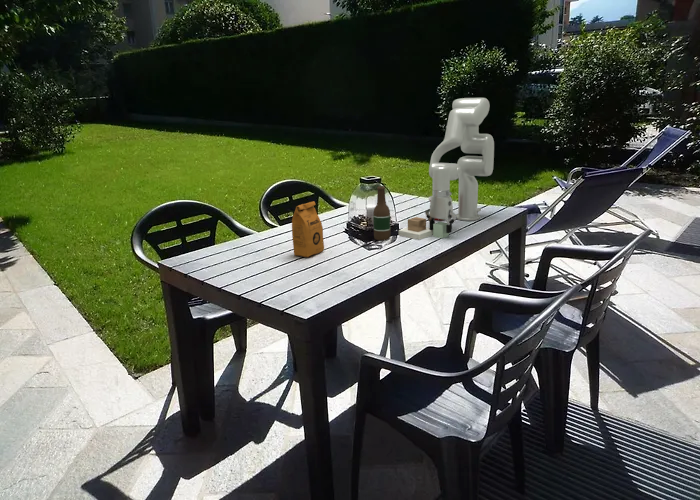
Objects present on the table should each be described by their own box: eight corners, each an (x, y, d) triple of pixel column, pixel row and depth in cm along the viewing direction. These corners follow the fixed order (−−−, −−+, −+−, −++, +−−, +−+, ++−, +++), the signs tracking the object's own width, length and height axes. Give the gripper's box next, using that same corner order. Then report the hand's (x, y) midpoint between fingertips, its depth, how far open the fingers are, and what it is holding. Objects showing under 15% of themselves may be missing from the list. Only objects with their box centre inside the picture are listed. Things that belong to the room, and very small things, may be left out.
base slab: (415, 230, 244) (415, 225, 243) (435, 234, 236) (435, 228, 235) (398, 235, 236) (398, 230, 235) (419, 240, 228) (419, 234, 227)
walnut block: (415, 227, 239) (415, 216, 238) (426, 229, 235) (426, 218, 234) (407, 230, 235) (407, 219, 234) (418, 232, 231) (417, 221, 230)
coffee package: (328, 252, 217) (325, 201, 210) (307, 259, 208) (303, 207, 202) (311, 248, 223) (308, 199, 217) (290, 255, 214) (286, 204, 208)
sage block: (439, 234, 236) (440, 221, 234) (448, 236, 232) (449, 223, 230) (433, 236, 232) (433, 223, 231) (442, 238, 229) (442, 225, 227)
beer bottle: (384, 241, 228) (383, 188, 221) (370, 239, 232) (368, 187, 225) (394, 237, 234) (393, 185, 226) (380, 235, 238) (378, 184, 231)
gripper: (462, 194, 223) (461, 232, 228) (430, 190, 235) (430, 226, 240) (452, 197, 218) (451, 236, 223) (420, 192, 230) (420, 229, 235)
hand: (440, 230), depth 231 cm, fingers open, 9 cm apart
